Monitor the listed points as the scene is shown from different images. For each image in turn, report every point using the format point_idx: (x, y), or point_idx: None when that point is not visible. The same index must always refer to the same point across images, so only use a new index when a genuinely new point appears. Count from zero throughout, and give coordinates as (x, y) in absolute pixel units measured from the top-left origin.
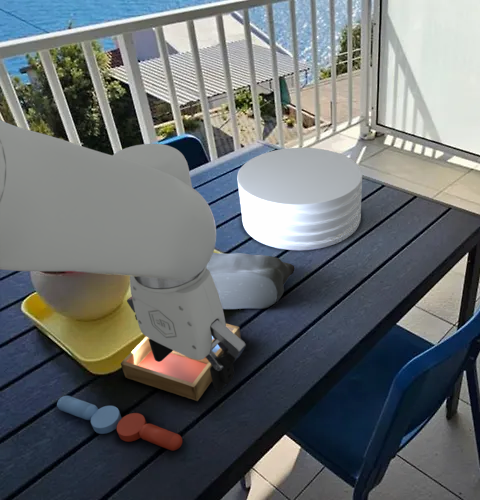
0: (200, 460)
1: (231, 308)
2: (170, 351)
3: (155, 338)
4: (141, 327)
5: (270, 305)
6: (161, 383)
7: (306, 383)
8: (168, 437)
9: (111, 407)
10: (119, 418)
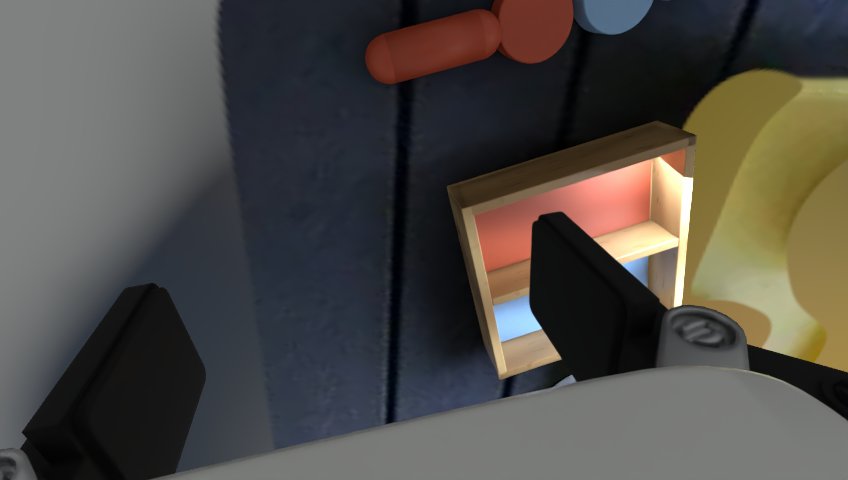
0: (295, 69)
1: (563, 381)
2: (532, 283)
3: (578, 439)
4: (840, 461)
5: None
6: (556, 163)
7: (275, 363)
8: (401, 54)
9: (625, 25)
10: (581, 16)
